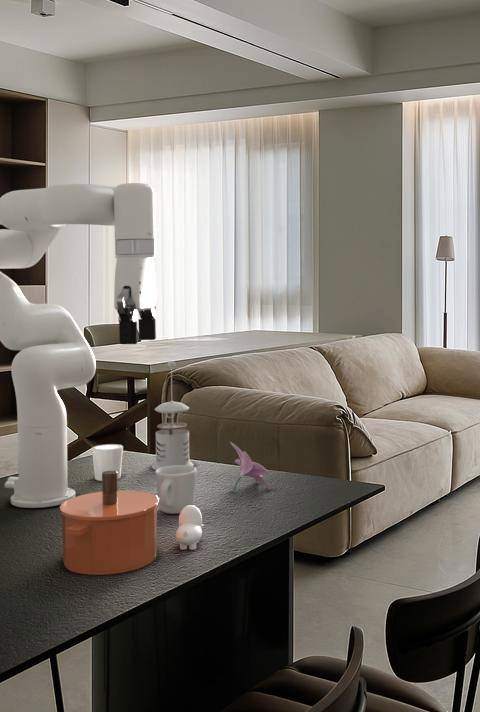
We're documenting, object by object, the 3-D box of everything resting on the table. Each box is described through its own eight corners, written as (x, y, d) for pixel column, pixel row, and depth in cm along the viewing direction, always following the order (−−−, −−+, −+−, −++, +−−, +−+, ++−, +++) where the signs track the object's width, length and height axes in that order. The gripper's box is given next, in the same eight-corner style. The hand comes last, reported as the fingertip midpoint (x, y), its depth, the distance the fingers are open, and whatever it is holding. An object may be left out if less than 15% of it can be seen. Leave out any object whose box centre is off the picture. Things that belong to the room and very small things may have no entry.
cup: (183, 522, 159) (182, 479, 159) (142, 520, 160) (142, 477, 160) (203, 506, 169) (202, 465, 169) (165, 504, 171) (164, 464, 171)
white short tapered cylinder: (129, 476, 194) (129, 445, 194) (107, 483, 188) (106, 451, 188) (108, 472, 198) (107, 442, 197) (85, 479, 192) (84, 448, 192)
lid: (39, 519, 134) (38, 480, 134) (96, 494, 149) (96, 458, 149) (125, 528, 129) (124, 487, 129) (176, 501, 144) (175, 464, 144)
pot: (33, 575, 132) (32, 520, 132) (107, 535, 151) (106, 487, 151) (114, 585, 127) (114, 528, 127) (180, 543, 146) (180, 494, 146)
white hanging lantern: (153, 472, 197) (152, 364, 197) (149, 461, 209) (148, 358, 208) (196, 469, 200) (194, 362, 200) (189, 458, 211) (188, 357, 211)
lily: (268, 503, 174) (284, 458, 177) (214, 482, 173) (232, 437, 177) (261, 506, 185) (276, 464, 189) (210, 486, 184) (227, 444, 188)
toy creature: (206, 537, 150) (205, 501, 150) (199, 552, 142) (199, 514, 142) (179, 537, 150) (179, 501, 150) (171, 552, 142) (171, 515, 142)
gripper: (133, 251, 169) (135, 338, 169) (98, 249, 152) (100, 346, 152) (170, 250, 168) (172, 338, 168) (138, 248, 151) (141, 345, 150)
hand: (138, 341), depth 160 cm, fingers open, 9 cm apart
